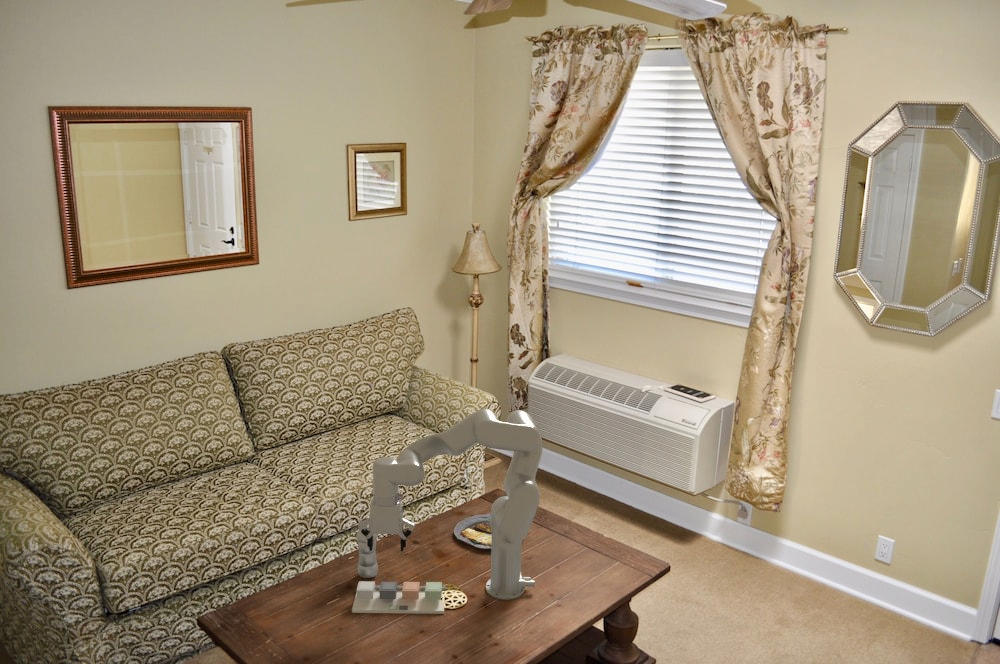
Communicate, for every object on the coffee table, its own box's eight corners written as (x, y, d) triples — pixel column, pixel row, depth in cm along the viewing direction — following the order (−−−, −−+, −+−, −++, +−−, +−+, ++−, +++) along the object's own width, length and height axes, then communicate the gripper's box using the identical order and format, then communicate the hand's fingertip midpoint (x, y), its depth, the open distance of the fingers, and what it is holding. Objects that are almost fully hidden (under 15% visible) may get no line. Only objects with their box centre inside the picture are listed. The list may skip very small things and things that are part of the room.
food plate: (536, 533, 303) (536, 524, 302) (496, 560, 285) (496, 551, 284) (483, 513, 318) (483, 505, 317) (442, 538, 300) (442, 529, 299)
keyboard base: (445, 591, 267) (445, 585, 266) (443, 613, 255) (443, 608, 255) (357, 590, 266) (357, 584, 266) (351, 612, 255) (351, 607, 254)
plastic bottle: (374, 582, 271) (373, 526, 265) (354, 579, 272) (352, 524, 267) (381, 571, 277) (379, 517, 272) (361, 568, 278) (360, 514, 273)
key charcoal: (397, 590, 263) (397, 581, 262) (395, 599, 258) (395, 590, 257) (381, 589, 263) (381, 581, 262) (379, 599, 258) (379, 590, 257)
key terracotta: (419, 590, 263) (419, 581, 262) (418, 599, 258) (418, 590, 257) (403, 590, 263) (403, 581, 262) (402, 599, 258) (402, 590, 257)
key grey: (375, 589, 263) (374, 581, 262) (373, 599, 258) (372, 590, 257) (359, 589, 262) (358, 581, 262) (356, 598, 258) (356, 590, 257)
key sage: (442, 590, 263) (442, 581, 262) (441, 599, 258) (441, 591, 257) (426, 590, 263) (426, 581, 262) (425, 599, 258) (425, 590, 257)
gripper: (415, 492, 255) (416, 542, 260) (359, 491, 255) (360, 542, 260) (413, 504, 248) (414, 555, 253) (355, 503, 248) (356, 554, 252)
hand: (386, 548), depth 256 cm, fingers open, 9 cm apart
